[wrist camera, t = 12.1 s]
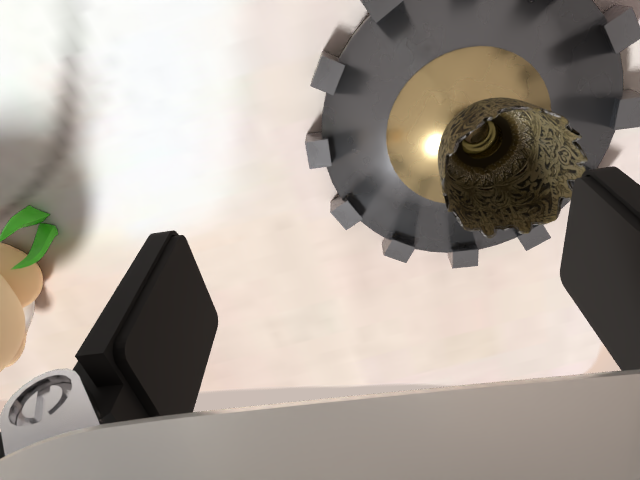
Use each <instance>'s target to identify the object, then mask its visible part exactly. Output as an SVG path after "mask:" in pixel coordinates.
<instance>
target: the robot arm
mask: <svg viewBox="0 0 640 480" xmlns="http://www.w3.org/2000/svg"><path fill="white" fill-rule="evenodd" d="M560 277H561V281H562V284H563V286H564V287H565V289H566V290H567V292H568V293H569V295H570V296H571V297H572V299H573V300H574V302H575V303H576V305H577V306H578V308H579V309H580V311H581V312H582V313H583V315H584V316H585V318H586V319H587V321H588V322H589V324H590V325H591V327H592V328H593V330H594V331H595V332H596V334H597V335H598V337H599V338H600V340H601V341H602V343H603V344H604V346H605V347H606V348H607V350H608V351H609V353H610V354H611V356H612V357H613V359H614V360H615V362H616V363H617V365H618V366H619V367H620V369H621V370H622V371H612V372H602V373H591V374H579V375H568V376H557V377H546V378H535V379H525V380H514V381H503V382H492V383H481V384H471V385H460V386H450V387H439V388H429V389H420V390H409V391H398V392H389V393H378V394H367V395H357V396H348V397H337V398H327V399H318V400H308V401H299V402H288V403H278V404H268V405H260V406H249V407H239V408H230V409H221V410H210V411H201V412H193V409H194V406H195V403H196V399H197V396H198V393H199V389H200V386H201V382H202V379H203V375H204V372H205V368H206V365H207V362H208V358H209V355H210V351H211V348H212V344H213V341H214V338H215V334H216V331H217V327H218V316H217V312H216V310H215V307H214V305H213V302H212V300H211V298H210V295H209V293H208V290H207V288H206V285H205V283H204V281H203V278H202V276H201V273H200V271H199V269H198V266H197V264H196V261H195V259H194V257H193V254H192V252H191V249H190V247H189V244H188V242H187V240H186V238H185V237H184V236H183V235H178V234H177V232H176V231H167V232H160V233H153V234H151V235H150V236H149V237H148V238H147V240H146V242H145V243H144V245H143V247H142V248H141V250H140V251H139V253H138V255H137V256H136V258H135V260H134V261H133V263H132V264H131V266H130V268H129V269H128V271H127V273H126V274H125V276H124V277H123V279H122V281H121V282H120V284H119V286H118V287H117V289H116V290H115V292H114V294H113V295H112V297H111V299H110V300H109V302H108V303H107V305H106V307H105V308H104V310H103V312H102V313H101V315H100V316H99V318H98V320H97V321H96V323H95V325H94V326H93V328H92V329H91V331H90V333H89V334H88V336H87V338H86V339H85V341H84V342H83V344H82V346H81V347H80V349H79V351H78V352H77V354H76V355H75V357H76V358H77V360H78V362H77V364H76V365H75V367H74V369H73V370H70V369H56V370H53V371H49V372H46V373H44V374H42V375H40V376H38V377H36V378H34V379H32V380H31V381H29V382H28V383H26V384H25V385H23V386H22V387H21V388H20V389H19V390H18V391H17V392H16V393H15V394H13V395H12V397H11V398H10V399H9V401H8V402H7V403H6V404H5V406H4V408H3V410H2V412H1V414H0V429H1V432H0V480H640V185H639V184H638V183H636V182H635V181H634V180H632V179H631V178H630V177H629V176H627V175H626V174H625V173H623V172H622V171H621V170H619V169H618V168H616V167H606V168H599V169H592V170H586V171H585V172H583V174H582V176H581V177H580V178H577V179H575V181H574V184H573V190H572V197H571V203H570V209H569V216H568V222H567V229H566V235H565V242H564V248H563V254H562V261H561V267H560Z"/></svg>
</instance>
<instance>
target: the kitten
mask: <svg viewBox="0 0 640 480" xmlns="http://www.w3.org/2000/svg"><path fill="white" fill-rule="evenodd" d="M49 215H50V214H48V213H45V212H42V211H40V210H37V209H35V208H33V207H31V206H30V205H29V206H28V207H26V208H24V209H23V210H21V211H20V212H18V213H17V214H15V215H14V216H13V217H12V218H11V219H10V220H9V221H8V222H7V224H6V226H5V227H4V229H3V231H2V233H1V235H0V372H1V371H2V370H3V369H4V368H5V367H9V366H11V365H13V364H14V363H15V362H16V361H17V360H18V359H19V358H20V356H21V354H22V352H23V350H24V347H25V342H26V335H27V331H28V328H29V326H30V323H31V320H32V318H33V315H34V310H35V299H36V298H37V297H38V296H39V294H40V292H41V290H42V287H43V276H42V272H41V270H40V268H39V266H38V264H37V263H36V262H38V261H39V260H40V259H41V258H42V257H43V256H44V254H45V253H46V251H47V250H48V248H49V246H50V244H51V242H52V241H53V239H54V237H55V236H57V235H58V231H57V229H56V226H54V225H50V224H45V223H41V222H43V221H44V220H45V219H46V218H47V217H48V216H49ZM38 223H40V225H39V227H38V230H37V233H36V236H35V239H34V242H33V245H32V247H31V250H30V252H29V253H28V255H27V254H26V253H24V252H22V251H21V250H19V249H17V248H14V247H12V246H10V245H7V244H4V243H1V241H3V240H4V239H6V238H7V237H8V236H10V235H11V234H13V233H14V232H15V231H17V230H18V229H20V228H22V227H28V226H32V225H35V224H38Z"/></svg>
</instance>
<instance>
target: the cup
mask: <svg viewBox="0 0 640 480" xmlns="http://www.w3.org/2000/svg"><path fill="white" fill-rule="evenodd" d="M484 123H486V125H487V127H488V133H487V136H486V137H485V138H484V139H483V140H482V141H481V142H479V143H474V144H473V143H469V142H467V141H466V140H465V138H467V137H468V136H469V135H470V134H471V133H472V132H473V131H475V130H476V129H478V128H479V127H481V126H482V125H483V124H484ZM569 123H570V122H569V121H568V120H567V119H566V118H565V117H563V116H561V115H559V114H557V113H555V112H552V111H549V110H546V109H543V108H541V107H538V106H536V105H533V104H530V103H527V102H524V101H521V100H517V99H512V98H503V97H499V98H488V99H484V100H480V101H478V102H475V103H473V104H471V105H469V106H467V107H466V108H464V109H463V110H461V111H460V112H459V113H458V114H457V115H456V116H455V117H454V118H453V119H452V120H451V121H450V122H449V124H448V125H447V127H446V128H445V130H444V132H443V134H442V137H441V140H440V143H439V148H438V169H439V175H440V181H441V186H442V193H443V196H444V198H445V202H446V208H447V210H448V211H449V212H452V213H453V214H454V216H455V218H456V219H457V221H458V222H459V224H460V225H461V226H462V227H463V228H464V229H465V230H467V231H480V233H481V234H482V235H483V236H485V237H487V238H493V237H495V235H496V233H497V230H498V229H500V230H503V231H506V230H507V229H509V228H514V229H516V230H517V231H518V232H519V233H520V234H528V233H530V232H531V231H532V228H533V225H544V224H547V223H550V222H552V221H555V220H556V219H557V218H558V216H559V213H560V210H561V205H562V202H563V199H564V200H565V199H568V200H566V201H569V200H571V197H572V190H573V186H572V184H571V182H574V181H575V179H577V178H580V177H581V176H582V174H583V172H585V171H586V169H585V166H584V165H583V164H582V163H585V162H586V161H587V160H588V159H587V157H586V155H585V153H584V152H583V150H582V148H581V145H580V144H579V143H577V140H580V138H582V136H581V134H580V133H579V132H577V131H576V130H575V129H573V128H572V127H571V126H570V125H569ZM495 229H497V230H495Z"/></svg>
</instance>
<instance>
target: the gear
mask: <svg viewBox="0 0 640 480" xmlns="http://www.w3.org/2000/svg"><path fill="white" fill-rule="evenodd" d="M361 2H362V3H363V5H364V6H365V8H366V9H367V11H368V12H369V14H370V15H369V16H368V17H367V18H366V19H365V20H364V21H363V22H362V24H361V25H360V26H359V27H358V29H357V30H356V31H355V32H354V34H353V35H352V36H351V38H350V40H349V41H348V43H347V44H346V46H345V48H344V49H343V51H342V52H341V54H340V56H339V57H336V56H334V55H332V54H329V53H327V52H325V51H322V54H321V57H320V59H319V62H318V65H317V67H316V70H315V73H314V76H313V78H312V82H311V86H312V87H314V88H316V89H319V90H321V91H324V92H326V96H325V101H324V107H323V114H322V132H317V133H309V134H307V135H306V140H305V145H306V151H307V156H308V162H309V168H310V169H313V168H321V167H327V169H328V172H329V175H330V177H331V180H332V183H333V185H334V186H335V188H336V190H337V192H338V194H339V196H338V197H336V198H335V199H333V200H332V201H331V209H330V212H331V213H332V215H333V216H334V217H335V218H336V219H337V220H338V221H339V223H340V224H341V225H342V226H343V227H344V228H345V229H346V230H347V229H349V228H350V227H352V226H353V225H355V224H356V223H358V222H359V221H361V222H363V223H364V224H365V225H366V226H368V227H369V228H370V229H372V230H373V231H374V232H376V233H378V234H380V235H381V236H383V237H385V238H384V240H383V242H382V247H383V254H384V255H385V256H388V257H390V258H393V259H396V260H399V261H402V262H404V263H406V262H407V261H408V259H409V257H410V256H411V254H412V253H413V251H414V249H419V250H424V251H430V252H446V253H448V258H449V260H450V263H451V266H452V268H461V267H471V266H478V250H479V249H483V248H487V247H490V246H494V245H498V244H500V243H503V242H506V241H509V240H511V239H514V238H516V237H518V239H519V240H520V242H521V243H522V245H523V246H524V248H525V250H526V251H527V250H529V249H531V248H533V247H535V246H537V245H538V244H540V243H542V242H544V241H546V240H548V239H550V238H551V237H550V235H549V234H548V232H547V230H546V229H545V227H544V226H543V225H533V228H532V231H531V232H530V233H528V234H520V233H519V232H518V231H517V230H516V229H514V228H509V229H507V230H506V231H503V230H500V229H498V230H497V229H495V230H497V233H496V235H495V237H493V238H487V237H485V236H483V235H482V234H481V233H480V231H467V230H465V229H464V228H463V227H462V226H461V225H460V224H459V222H458V221H457V219H456V218H455V216H454V214H453V213H452V212H449V211H448V210H447V208H446V202H445V198H444V196H443V193H442V186H441V181H440V175H439V169H438V148H439V143H440V140H441V137H442V134H443V132H444V130H445V128H446V127H447V125H448V124H449V122H450V121H451V120H452V119H453V118H454V117H455V116H456V115H457V114H458V113H459V112H460V111H461V110H463V109H464V108H466V107H467V106H469V105H471V104H473V103H475V102H478V101H480V100H484V99H488V98H499V97H503V98H512V99H517V100H521V101H524V102H527V103H530V104H533V105H536V106H538V107H541V108H543V109H546V110H549V111H552V112H555V113H557V114H559V115H561V116H563V117H565V118H566V119H567V120H568V121H569V122H570V123H569V125H570V126H571V127H572V128H573V129H575V130H576V131H577V132H579V133H580V134H581V136H582V138H580V140H577V143H579V144H580V145H581V148H582V150H583V152H584V153H585V155H586V157H587V159H588V160H587V161H586V162H585V163H582V164H583V165H584V166H585V169H586V170H592V169H598V168H597V167H598V166H599V164H600V162H601V160H602V158H603V157H604V155H605V153H606V151H607V149H608V147H609V144H610V142H611V140H612V137H613V135H614V132H615V130H619V129H626V128H634V127H640V93H638V92H636V91H633V90H624V91H623V70H622V63H621V57H620V52H621V51H622V50H624V49H625V48H627V47H628V46H630V45H631V44H633V43H634V42H636V41H637V40H639V39H640V26H639V24H638V21H637V18H636V16H635V13H634V11H633V8H632V7H629V6H622V5H614V6H613V7H611V8H610V9H608V10H607V11H606V12H604V13H602V12H601V11H600V9H599V8H598V7H597V6H596V4H595V3H594V2H593V0H361ZM487 133H488V127H487V125H486V123H484V124H483V125H482V126H481V127H479V128H478V129H476V130H475V131H473V132H472V133H471V134H470V135H469V136H468V137H467V138H465V140H466V141H467V142H469V143H473V144H474V143H479V142H481V141H482V140H483V139H484V138H485V137H486V136H487ZM571 184H572V186H573V184H574V182H571ZM566 200H568V199H565V200H564V199H563V202H562V205H561V209H562V208H563V207H564V206H565V205H566V204H567V203H568V202H569V201H570V200H569V201H566Z"/></svg>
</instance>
